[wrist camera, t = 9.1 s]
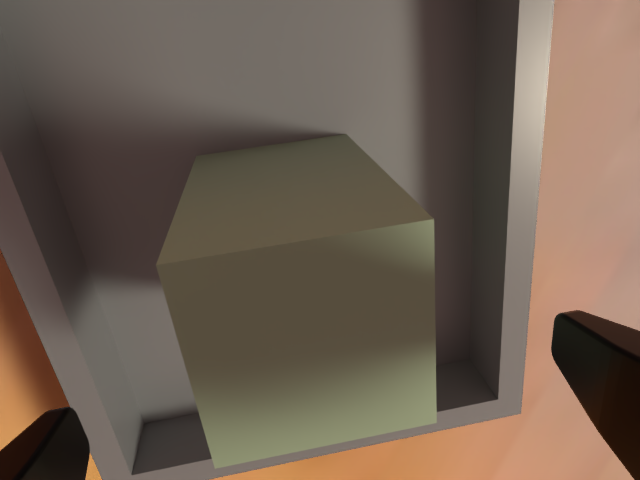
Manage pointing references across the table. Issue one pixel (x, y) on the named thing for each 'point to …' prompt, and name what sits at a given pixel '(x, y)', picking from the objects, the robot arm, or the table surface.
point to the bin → (248, 132)
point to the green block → (301, 298)
